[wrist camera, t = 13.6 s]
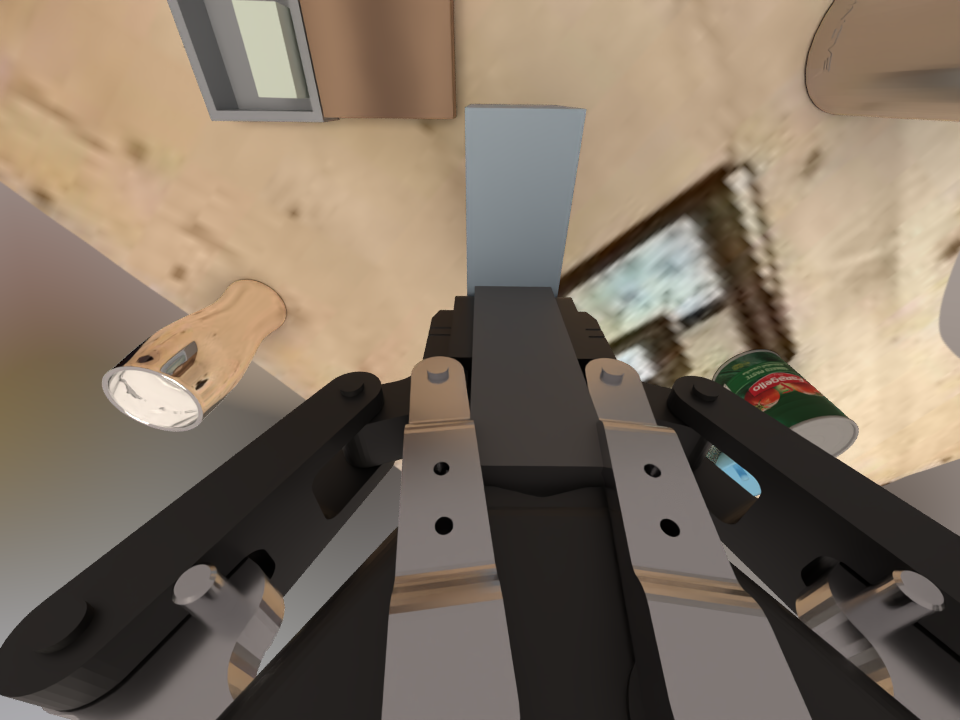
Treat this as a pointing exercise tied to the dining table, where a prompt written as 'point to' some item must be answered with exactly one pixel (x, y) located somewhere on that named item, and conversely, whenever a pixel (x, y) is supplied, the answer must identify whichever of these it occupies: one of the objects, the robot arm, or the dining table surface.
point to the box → (239, 64)
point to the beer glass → (195, 359)
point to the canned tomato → (788, 399)
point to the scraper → (525, 301)
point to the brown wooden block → (383, 57)
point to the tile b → (271, 48)
